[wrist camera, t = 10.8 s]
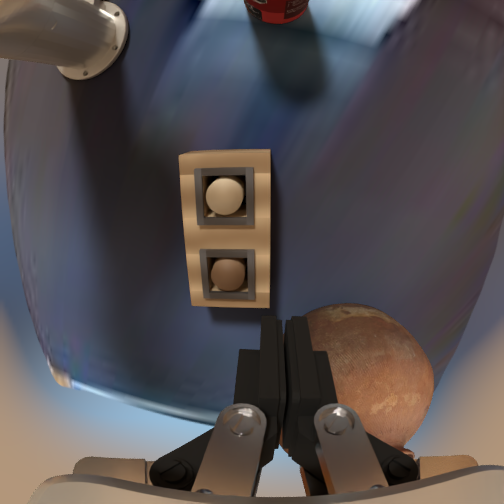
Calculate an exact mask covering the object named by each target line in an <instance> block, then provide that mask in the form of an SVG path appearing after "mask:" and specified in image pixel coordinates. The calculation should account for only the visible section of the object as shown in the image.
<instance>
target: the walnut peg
mask: <svg viewBox="0 0 504 504" xmlns="http://www.w3.org/2000/svg"><path fill="white" fill-rule="evenodd" d="M246 266H247V258H229V257H217V258H216V261H215V263H214V266H213V268H212V271H211V278H212V281H213V283H214V284H215V285H216V286H217V287H218V288H220V289H222V290H226V291H231V290H235V289H237V288H239V287H240V286H241V285H242V283H243V281H244V277H245V271H246Z"/></svg>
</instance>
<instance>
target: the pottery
mask: <svg viewBox="0 0 504 504" xmlns="http://www.w3.org/2000/svg"><path fill="white" fill-rule="evenodd" d="M303 316H304V317H307V320H308V326H309V331H310V337H311V342H312V348H313V351H327V354H328V358H329V362H330V367H331V371H332V376H333V381H334V385H335V390H336V395H337V400H338V404H343V405H346V406H348V407H351V408H352V409H353V410H354V411H356V413H357V414H358V416H359V418H360V420H361V422H362V425H363V427H364V429H365V431H366V432H368V433H369V434H371V435H373V436H375V437H376V438H378V439H380V440H382V441H383V442H385V443H387V444H389V445H390V446H392V447H394V448H396V449H398V450H399V451H401V452H403V453H405V454H407V455H409V456H410V457H411V458H413V459H414V457H415V455H414V453H413V452H412V451H410V450H409V449H405V448H404V445H405V444H406V443H407V442H408V441H409V440H410V438H411V437H412V436H413V435H414V434H415V433H416V431H417V430H418V428H419V427H420V425H421V424H422V422H423V420H424V418H425V416H426V414H427V411H428V409H429V406H430V403H431V400H432V396H433V391H434V377H433V370H432V367H431V364H430V362H429V360H428V358H427V356H426V354H425V353H424V351H423V350H422V348H421V347H420V345H419V344H418V343H417V341H416V340H415V339H414V337H413V336H412V335H411V334H410V333H409V332H408V331H407V330H406V329H405V328H404V327H403V326H402V325H400V324H399V323H398V322H397V321H396V320H395V319H393V318H392V317H390V316H389V315H387V314H385V313H384V312H382V311H381V310H378V309H376V308H373V307H370V306H367V305H361V304H352V303H344V304H333V305H328V306H324V307H321V308H318V309H315V310H313V311H311V312H309V313H307V314H305V315H303ZM284 334H285V333H284ZM284 334H283V344H284ZM279 444H280V446H281V447H282V448H283V446H282V429H281V435H280V441H279ZM284 451H285V452H286V453H288V449H284Z"/></svg>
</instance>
